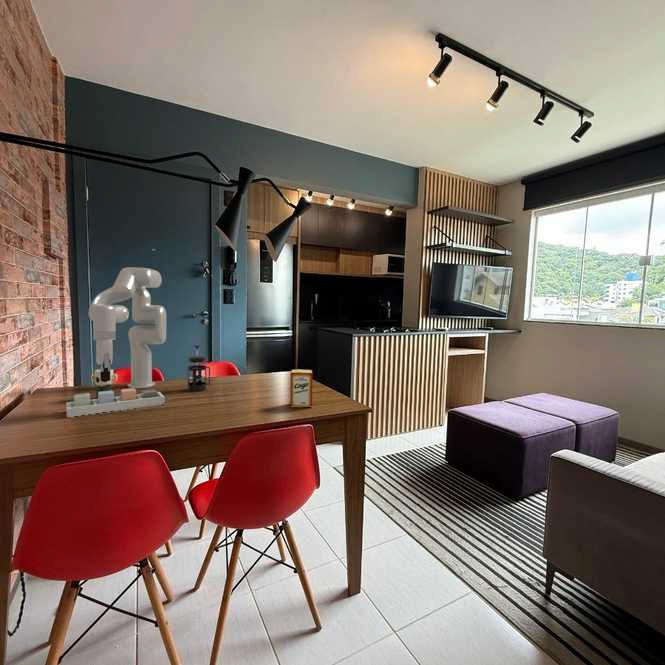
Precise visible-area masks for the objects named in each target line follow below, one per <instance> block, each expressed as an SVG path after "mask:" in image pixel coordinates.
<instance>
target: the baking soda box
mask: <svg viewBox="0 0 665 665" xmlns="http://www.w3.org/2000/svg"><path fill="white" fill-rule="evenodd" d="M313 374H314V373H313V370H312V369H301V368H300V369H290V386H289V388H290V391H289V392H290V394H289V398H290V400H289V407H290V406H312V407H313V379H314V378H313V376H314V375H313Z"/></svg>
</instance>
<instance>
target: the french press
mask: <svg viewBox="0 0 665 665" xmlns="http://www.w3.org/2000/svg"><path fill="white" fill-rule="evenodd" d="M194 347H195V349H196V355H191V356H188V357H187V359H188V362H189V363H196V364H195V365H189V366H187V390H188V391H187V390H186V391H187V392H189V391H191V392H190V393H199V391H201V392H205V391H207V390H208V388H207V385H211V367H210V366H207V365H202V364H201V363H205V362H206V361H207V360H206V359H207V356H204V355H199V354H198V351H199V350H198V349H199V347H202V345H200V344H194V345H193V348H194ZM198 363H200V364H198ZM207 369H208V382H207ZM190 371H192V376H190ZM202 371H204V375H202ZM203 380H204V381H203ZM190 381H191V382H190ZM206 389H207V390H206ZM204 390H205V391H204Z"/></svg>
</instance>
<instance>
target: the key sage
mask: <svg viewBox="0 0 665 665" xmlns="http://www.w3.org/2000/svg"><path fill="white" fill-rule="evenodd" d="M90 400H91V394H90V392H85V393H84V392H83V393H76V394H73V402H74V406H75V407H79V406H88V405H90Z"/></svg>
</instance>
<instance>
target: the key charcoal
mask: <svg viewBox="0 0 665 665" xmlns="http://www.w3.org/2000/svg"><path fill="white" fill-rule="evenodd" d="M157 392H158V391H157V390H156V389H148V390H141V394H142V399H144V398H152V397H157Z"/></svg>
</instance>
